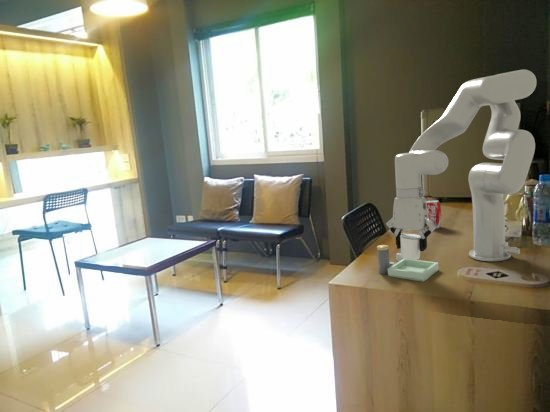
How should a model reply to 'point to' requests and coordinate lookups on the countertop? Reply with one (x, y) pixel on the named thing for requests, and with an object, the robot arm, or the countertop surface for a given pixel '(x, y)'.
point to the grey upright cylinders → (386, 258)
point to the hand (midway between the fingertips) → (411, 248)
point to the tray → (413, 269)
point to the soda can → (434, 212)
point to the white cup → (410, 246)
